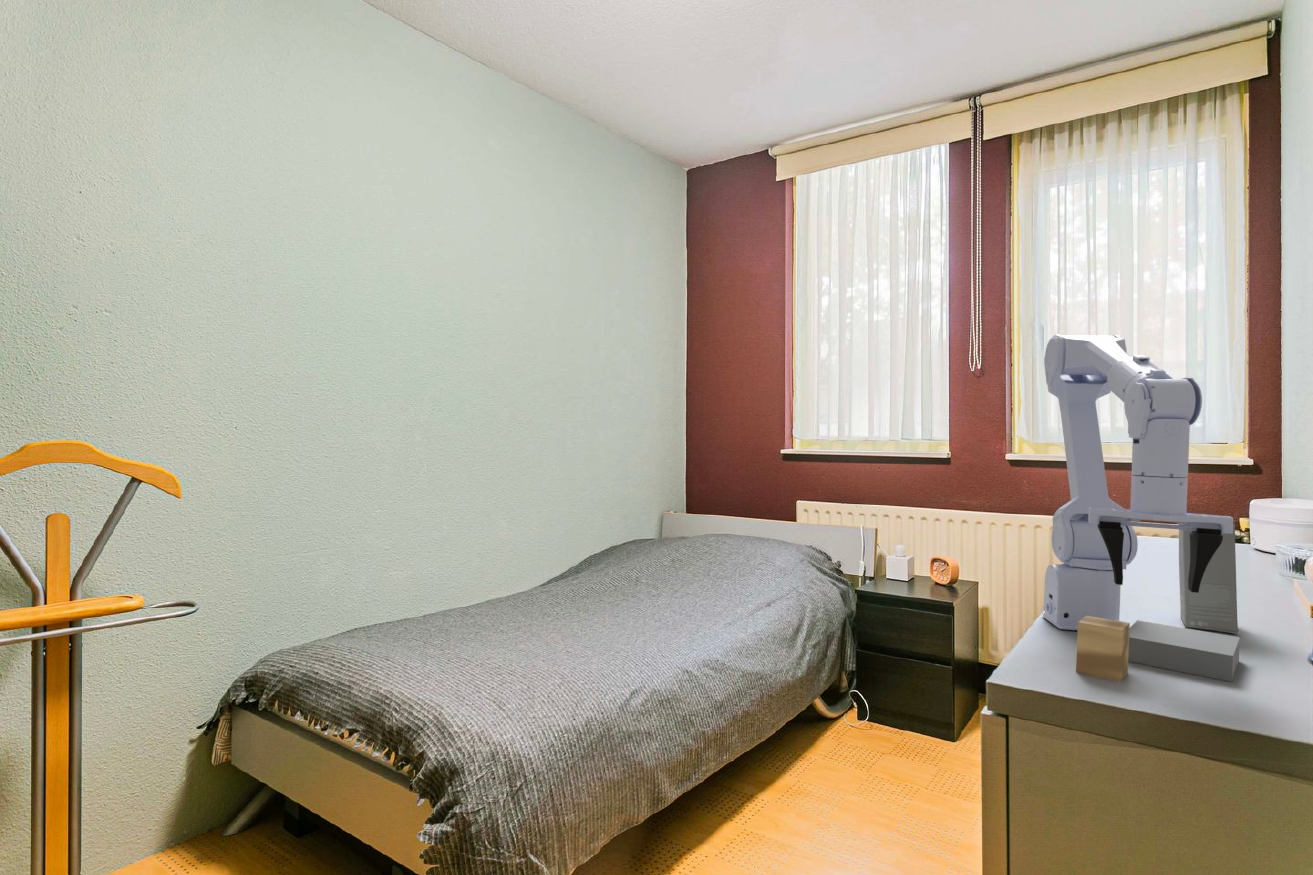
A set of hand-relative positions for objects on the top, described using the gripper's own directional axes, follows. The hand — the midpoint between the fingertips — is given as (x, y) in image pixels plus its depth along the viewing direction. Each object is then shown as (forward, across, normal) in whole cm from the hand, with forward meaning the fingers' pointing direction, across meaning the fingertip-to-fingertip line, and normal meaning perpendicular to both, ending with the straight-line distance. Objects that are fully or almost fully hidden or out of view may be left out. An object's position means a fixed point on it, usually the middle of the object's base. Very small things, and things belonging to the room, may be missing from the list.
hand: (1155, 587), depth 90 cm
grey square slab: (+10, +4, +4) cm, 11 cm away
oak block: (+10, -6, -6) cm, 13 cm away
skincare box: (+10, +10, +28) cm, 32 cm away
